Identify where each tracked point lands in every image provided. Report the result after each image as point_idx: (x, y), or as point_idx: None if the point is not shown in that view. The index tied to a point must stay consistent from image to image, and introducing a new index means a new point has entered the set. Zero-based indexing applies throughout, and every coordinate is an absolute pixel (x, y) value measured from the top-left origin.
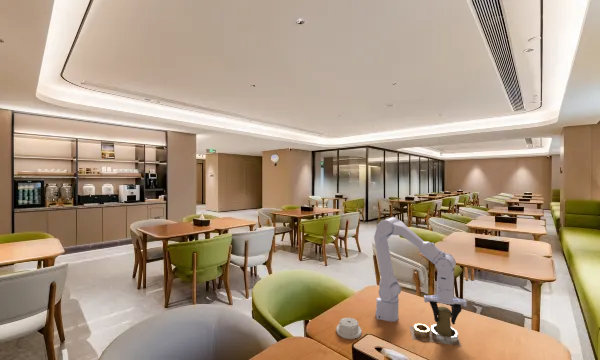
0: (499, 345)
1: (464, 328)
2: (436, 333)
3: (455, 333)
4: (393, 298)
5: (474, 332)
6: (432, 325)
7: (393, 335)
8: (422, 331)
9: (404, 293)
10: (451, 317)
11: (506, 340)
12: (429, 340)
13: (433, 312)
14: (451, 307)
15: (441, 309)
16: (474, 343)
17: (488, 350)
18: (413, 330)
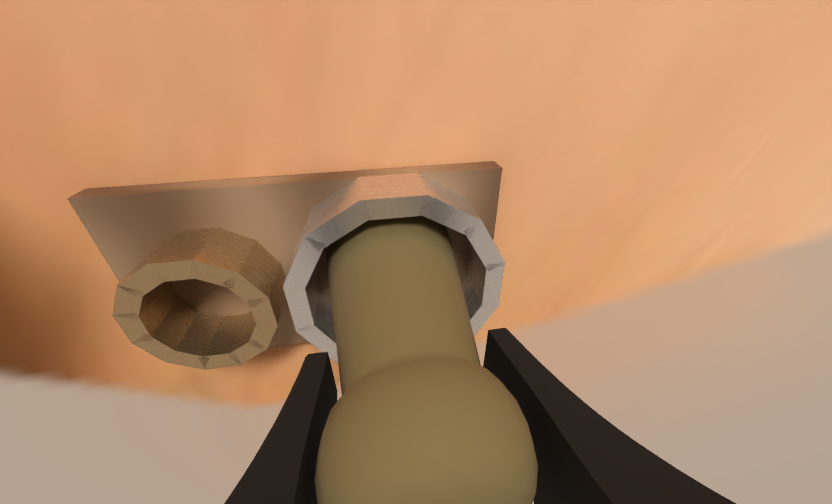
0: (721, 205)
1: (628, 9)
2: (332, 351)
3: (481, 298)
4: None
5: (674, 69)
6: (298, 251)
7: (7, 326)
8: (218, 365)
9: None
10: (508, 368)
11: (823, 127)
12: (288, 334)
13: (274, 437)
14: (595, 484)
15: None
16: (579, 233)
17: (618, 274)
18: (138, 258)
